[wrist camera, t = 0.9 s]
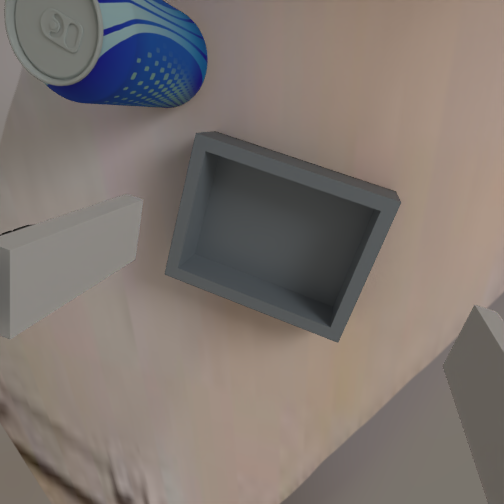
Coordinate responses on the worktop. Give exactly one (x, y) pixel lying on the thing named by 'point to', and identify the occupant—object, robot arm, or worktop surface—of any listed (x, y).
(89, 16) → the beer can
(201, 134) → the caddy
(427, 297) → the worktop surface
